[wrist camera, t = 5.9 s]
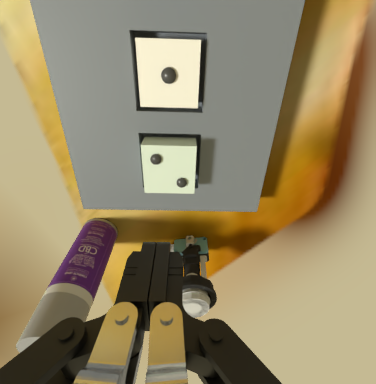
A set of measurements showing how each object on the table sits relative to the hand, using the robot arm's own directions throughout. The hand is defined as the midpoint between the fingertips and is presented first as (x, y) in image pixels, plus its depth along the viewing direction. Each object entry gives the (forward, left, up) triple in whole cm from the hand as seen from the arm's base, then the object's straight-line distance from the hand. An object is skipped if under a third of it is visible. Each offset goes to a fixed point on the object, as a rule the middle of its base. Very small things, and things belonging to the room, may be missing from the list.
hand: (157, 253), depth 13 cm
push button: (+14, +2, -16) cm, 21 cm away
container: (+12, -10, -16) cm, 22 cm away
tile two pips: (0, 0, -13) cm, 13 cm away
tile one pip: (-8, 0, -14) cm, 16 cm away
